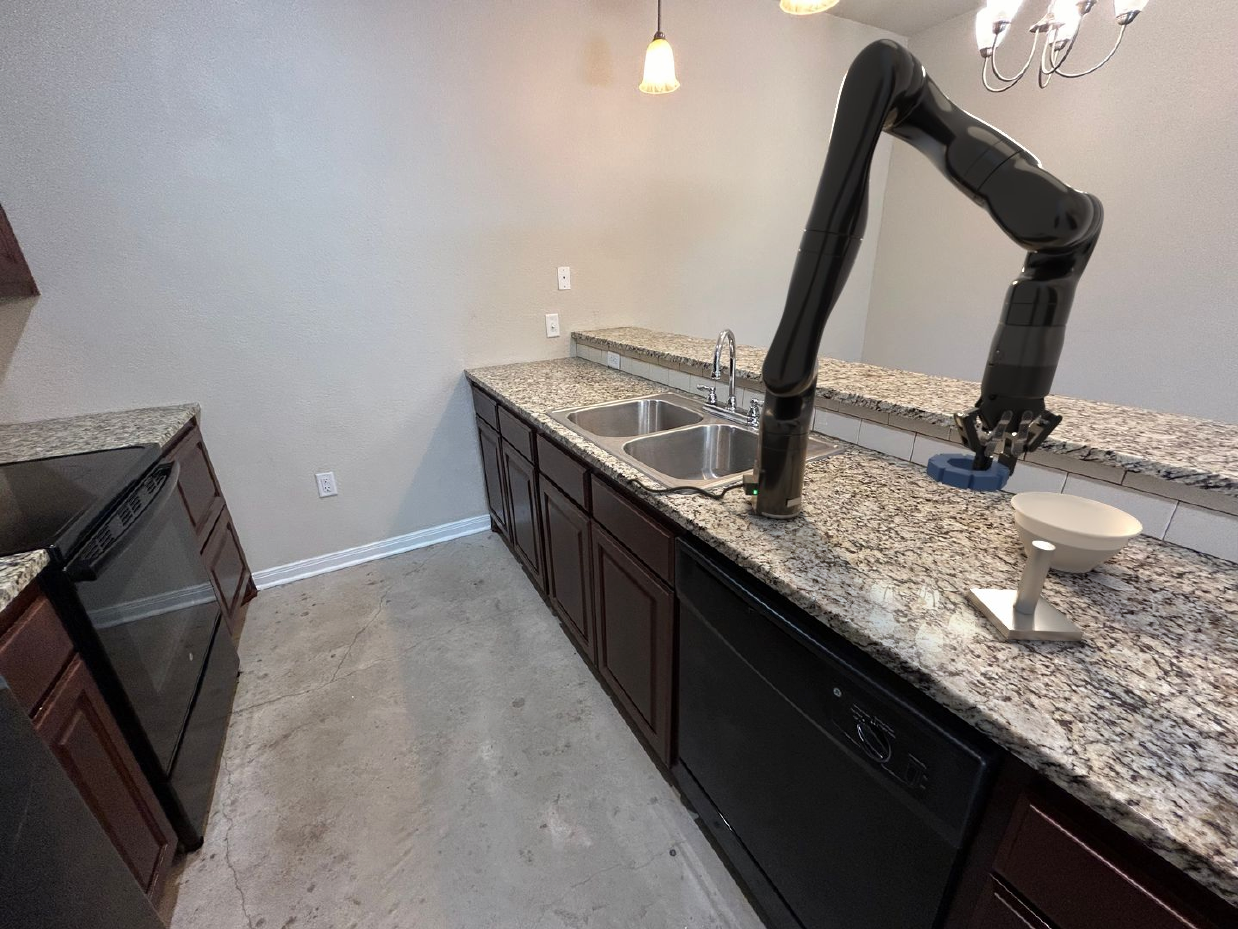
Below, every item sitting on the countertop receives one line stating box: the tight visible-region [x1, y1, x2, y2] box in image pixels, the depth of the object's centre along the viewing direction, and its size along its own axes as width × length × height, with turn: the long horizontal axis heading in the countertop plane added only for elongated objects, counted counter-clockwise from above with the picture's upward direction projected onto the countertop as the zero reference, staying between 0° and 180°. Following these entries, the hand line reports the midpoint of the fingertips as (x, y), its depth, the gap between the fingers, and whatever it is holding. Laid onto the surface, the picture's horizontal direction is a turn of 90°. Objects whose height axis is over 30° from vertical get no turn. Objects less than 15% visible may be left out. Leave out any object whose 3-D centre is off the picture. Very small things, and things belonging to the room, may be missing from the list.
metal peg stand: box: [967, 541, 1085, 642], centre depth 67 cm, size 9×9×12 cm
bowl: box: [1010, 491, 1144, 574], centre depth 81 cm, size 16×16×9 cm
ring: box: [925, 453, 1010, 492], centre depth 72 cm, size 9×9×2 cm
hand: (990, 477), depth 73 cm, fingers closed on ring, 2 cm apart
